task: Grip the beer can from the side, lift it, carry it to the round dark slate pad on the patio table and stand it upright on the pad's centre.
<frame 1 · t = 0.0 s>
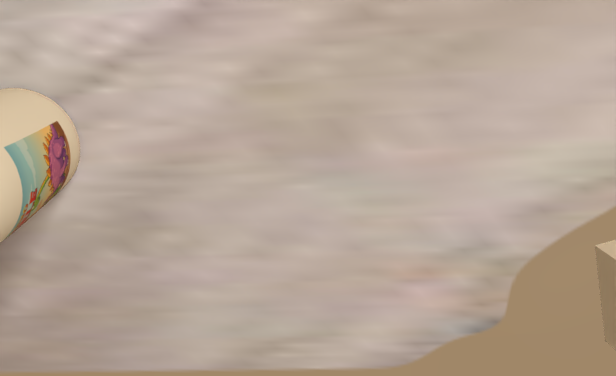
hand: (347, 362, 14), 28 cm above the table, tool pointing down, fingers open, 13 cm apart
milk bottle: (25, 142, 40), on the table
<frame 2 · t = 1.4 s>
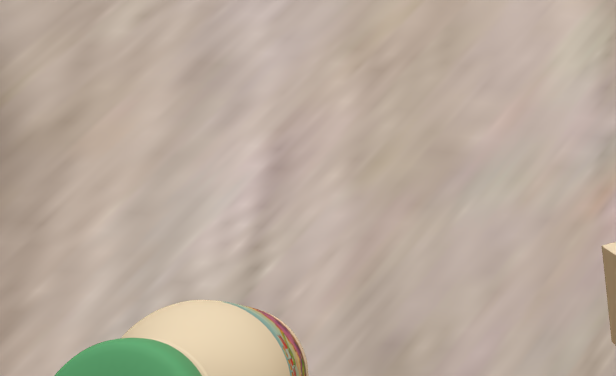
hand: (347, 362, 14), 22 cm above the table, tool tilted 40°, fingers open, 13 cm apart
milk bottle: (244, 374, 34), point 1 cm above the table, touching gripper
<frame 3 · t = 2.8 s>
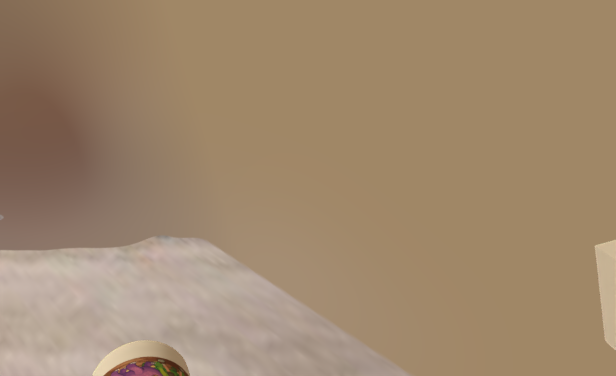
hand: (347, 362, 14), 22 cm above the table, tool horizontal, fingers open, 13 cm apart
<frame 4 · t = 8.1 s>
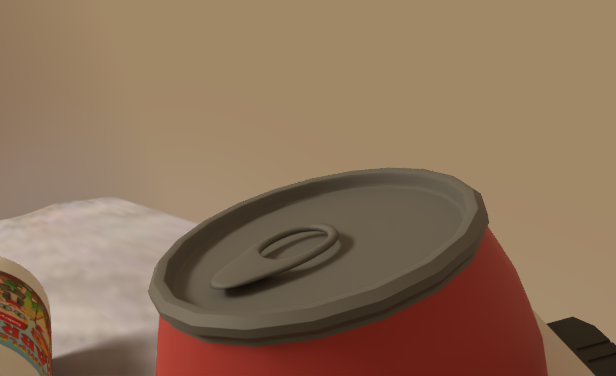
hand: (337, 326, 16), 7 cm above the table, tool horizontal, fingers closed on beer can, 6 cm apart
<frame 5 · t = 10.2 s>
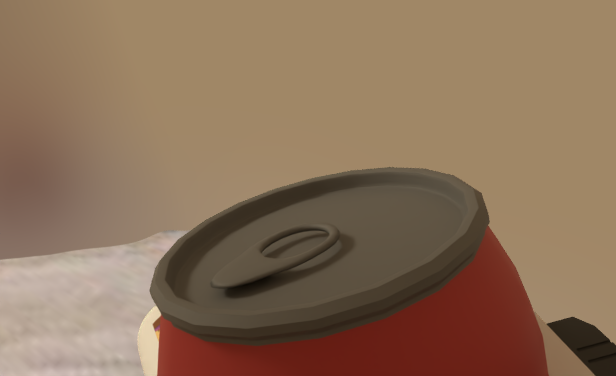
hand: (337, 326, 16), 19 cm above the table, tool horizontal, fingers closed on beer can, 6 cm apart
milk bottle: (182, 331, 50), point 4 cm above the table
when the fingers open (10 cm above the table, at t = 12.7 s): beer can drops 1 cm, resting on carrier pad.
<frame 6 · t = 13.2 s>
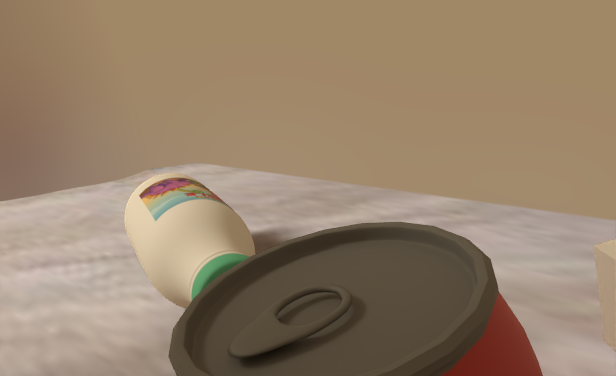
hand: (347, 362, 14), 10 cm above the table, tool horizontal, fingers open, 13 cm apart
milk bottle: (168, 214, 51), point 4 cm above the table
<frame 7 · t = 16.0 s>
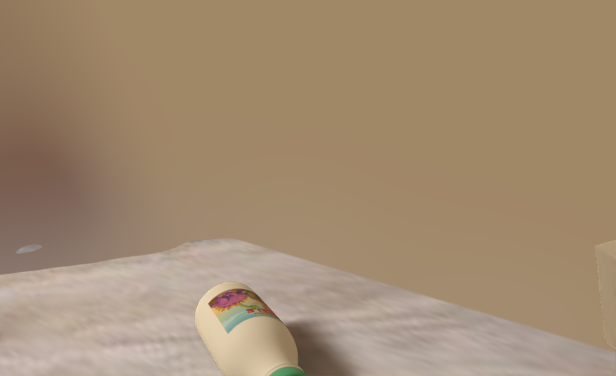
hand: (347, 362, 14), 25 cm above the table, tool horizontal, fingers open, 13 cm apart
milk bottle: (226, 311, 67), point 4 cm above the table
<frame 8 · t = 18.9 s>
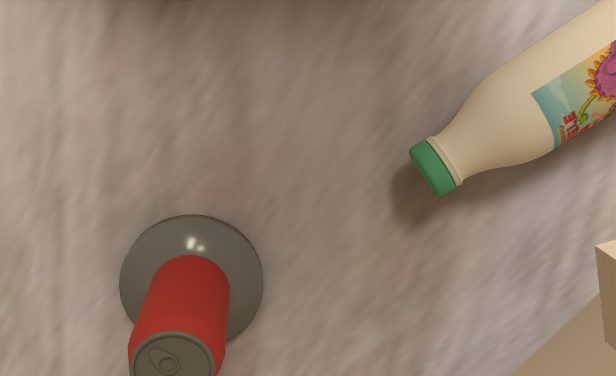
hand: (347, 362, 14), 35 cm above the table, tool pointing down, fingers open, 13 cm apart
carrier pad: (193, 279, 51), on the table
beer can: (191, 286, 49), point 1 cm above the table, touching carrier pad
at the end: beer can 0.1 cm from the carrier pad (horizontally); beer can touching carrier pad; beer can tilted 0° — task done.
